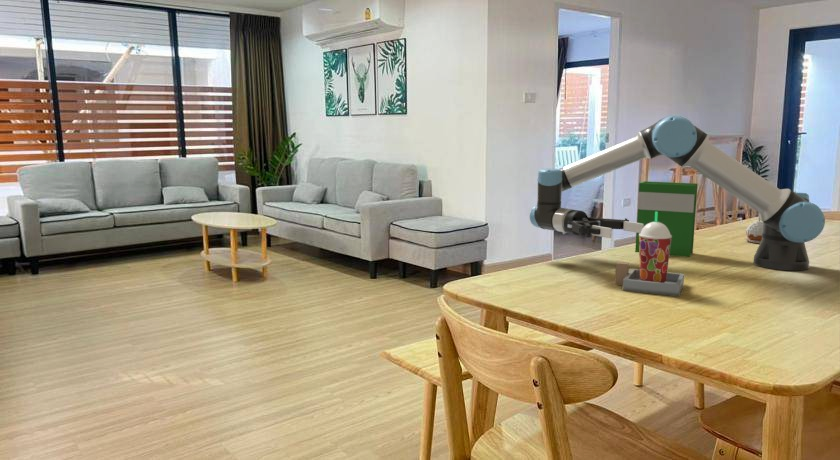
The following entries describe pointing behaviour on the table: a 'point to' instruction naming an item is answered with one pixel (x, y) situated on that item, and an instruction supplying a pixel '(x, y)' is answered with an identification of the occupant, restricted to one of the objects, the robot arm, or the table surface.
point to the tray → (636, 285)
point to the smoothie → (654, 251)
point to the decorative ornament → (755, 231)
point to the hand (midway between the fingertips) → (627, 230)
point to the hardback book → (670, 212)
